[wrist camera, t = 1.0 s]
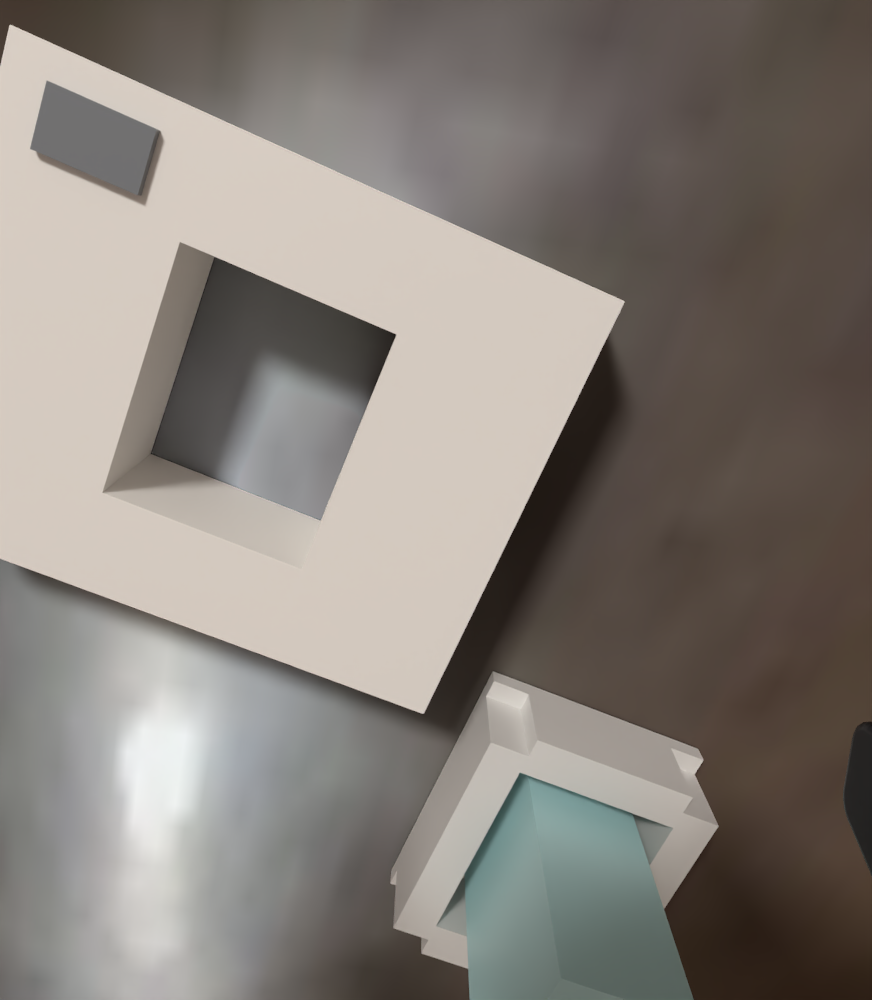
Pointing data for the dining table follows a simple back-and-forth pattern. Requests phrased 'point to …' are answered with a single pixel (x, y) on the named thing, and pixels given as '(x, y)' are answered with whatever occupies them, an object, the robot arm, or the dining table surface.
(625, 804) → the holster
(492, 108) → the dining table surface
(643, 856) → the plug
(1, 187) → the socket block
